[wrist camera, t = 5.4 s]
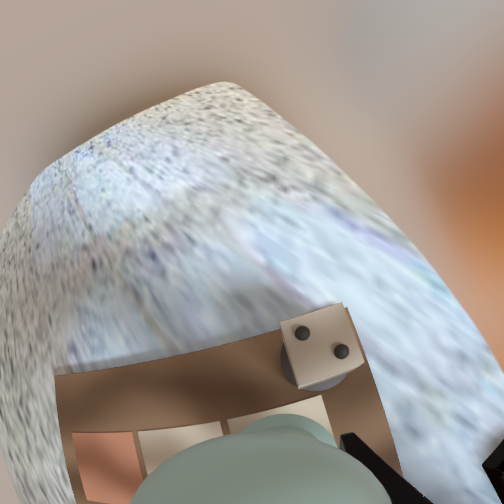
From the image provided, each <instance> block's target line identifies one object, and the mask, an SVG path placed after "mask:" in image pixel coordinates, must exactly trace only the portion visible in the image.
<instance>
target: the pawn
mask: <svg viewBox="0 0 504 504" xmlns="http://www.w3.org/2000/svg"><path fill="white" fill-rule="evenodd" d="M129 504H392V502H391V500H390V497H389V495H388V494H387V492H386V490H385V488H384V487H383V485H382V484H381V483H380V482H379V480H378V479H377V478H376V477H375V476H374V474H373V473H372V472H371V471H370V470H369V469H368V468H367V467H365V466H364V465H363V464H362V463H361V462H360V461H358V460H357V459H355V458H354V457H352V456H351V455H349V454H348V453H346V452H344V451H342V450H340V449H338V447H337V445H336V442H335V441H334V439H333V437H332V436H331V434H330V433H329V432H328V431H327V430H326V429H325V428H324V427H323V426H322V425H320V424H319V423H317V422H316V421H314V420H312V419H310V418H307V417H305V416H301V415H297V414H275V415H270V416H267V417H264V418H261V419H259V420H256V421H255V422H253V423H251V424H250V425H248V426H247V427H246V428H244V429H243V430H242V431H241V432H240V433H238V434H230V435H225V436H220V437H216V438H212V439H209V440H206V441H203V442H200V443H197V444H195V445H193V446H191V447H189V448H187V449H184V450H182V451H180V452H178V453H176V454H175V455H173V456H172V457H170V458H168V459H167V460H165V461H164V462H163V463H162V464H160V465H159V466H158V467H157V468H156V469H155V470H154V471H152V472H151V473H150V474H149V475H148V476H147V477H146V478H145V480H144V481H143V482H142V483H141V484H140V486H139V488H138V489H137V491H136V493H135V494H134V496H133V498H132V499H131V501H130V503H129Z"/></svg>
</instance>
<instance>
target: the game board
mask: <svg viewBox="0 0 504 504" xmlns="http://www.w3.org/2000/svg"><path fill="white" fill-rule="evenodd" d="M280 327H281V329H279V330H275V331H272V332H268V333H265V334H261V335H258V336H254V337H251V338H247V339H243V340H240V341H236V342H232V343H228V344H224V345H220V346H216V347H212V348H208V349H204V350H200V351H196V352H191V353H187V354H182V355H178V356H173V357H169V358H164V359H159V360H154V361H149V362H144V363H138V364H133V365H127V366H121V367H115V368H109V369H103V370H96V371H89V372H82V373H75V374H66V375H58V376H55V390H56V402H57V411H58V419H59V427H60V433H61V440H62V445H63V451H64V456H65V461H66V465H67V470H68V474H69V478H70V482H71V486H72V490H73V493H74V497H75V500H76V503H77V504H129V503H130V501H131V499H132V498H133V496H134V494H135V493H136V491H137V489H138V488H139V486H140V484H141V483H142V482H143V481H144V480H145V478H146V477H147V476H148V475H149V474H150V473H151V472H152V471H154V470H155V469H156V468H157V467H158V466H159V465H160V464H162V463H163V462H164V461H165V460H167V459H168V458H170V457H172V456H173V455H175V454H176V453H178V452H180V451H182V450H184V449H187V448H189V447H191V446H193V445H195V444H197V443H200V442H203V441H206V440H209V439H212V438H216V437H220V436H225V435H230V434H238V433H240V432H241V431H242V430H243V429H244V428H246V427H247V426H248V425H250V424H251V423H253V422H255V421H256V420H259V419H261V418H264V417H267V416H270V415H275V414H297V415H301V416H305V417H307V418H310V419H312V420H314V421H316V422H317V423H319V424H320V425H322V426H323V427H324V428H325V429H326V430H327V431H328V432H329V433H330V434H331V436H332V437H333V439H334V441H335V442H336V445H337V447H338V449H339V447H340V435H341V434H345V433H349V432H354V433H355V434H356V435H357V436H359V437H360V438H361V439H362V440H363V441H364V442H365V443H366V444H367V445H368V446H369V447H370V448H371V449H372V450H373V451H374V452H375V453H376V454H378V455H379V456H380V457H381V458H382V459H383V460H384V461H385V462H386V463H387V464H388V465H390V466H391V467H392V468H393V469H394V470H395V471H396V472H397V473H398V474H400V475H401V476H402V477H403V474H402V470H401V466H400V463H399V459H398V455H397V452H396V448H395V445H394V441H393V438H392V434H391V431H390V428H389V424H388V421H387V418H386V415H385V412H384V409H383V405H382V402H381V399H380V396H379V393H378V390H377V387H376V384H375V381H374V378H373V376H372V373H371V370H370V367H369V364H368V361H367V359H366V356H365V353H364V350H363V348H362V345H361V342H360V340H359V337H358V334H357V332H356V329H355V326H354V324H353V321H352V319H351V316H350V314H349V311H348V309H347V307H346V308H344V306H343V304H342V302H341V303H338V304H335V305H332V306H329V307H326V308H323V309H320V310H317V311H314V312H311V313H308V314H305V315H302V316H298V317H295V318H292V319H289V320H285V321H282V322H280Z"/></svg>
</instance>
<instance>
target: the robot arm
mask: <svg viewBox="0 0 504 504" xmlns="http://www.w3.org/2000/svg"><path fill="white" fill-rule="evenodd" d="M339 449H340V450H342V451H344V452H346V453H348V454H349V455H351V456H352V457H354V458H355V459H357V460H358V461H360V462H361V463H362V464H363V465H364V466H365V467H367V468H368V469H369V470H370V471H371V472H372V473H373V474H374V476H375V477H376V478H377V479H378V480H379V482H380V483H381V484H382V485H383V487H384V488H385V490H386V492H387V494H388V495H389V497H390V500H391V502H392V504H433V503H432V502H431V501H430V500H429V499H427V498H426V497H425V496H424V497H423V494H421V493H420V492H419V491H418V490H417V489H416V488H414V487H413V486H412V485H411V484H410V483H409V482H407V481H406V480H405V479H404V478H403V477H402V476H401V475H400V474H398V473H397V472H396V471H395V470H394V469H393V468H392V467H391V466H390V465H388V464H387V463H386V462H385V461H384V460H383V459H382V458H381V457H380V456H379V455H378V454H376V453H375V452H374V451H373V450H372V449H371V448H370V447H369V446H368V445H367V444H366V443H365V442H364V441H363V440H362V439H361V438H360V437H359V436H357V435H356V434H355V433H354V432H349V433H345V434H341V435H340V447H339Z"/></svg>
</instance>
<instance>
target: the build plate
mask: <svg viewBox="0 0 504 504" xmlns="http://www.w3.org/2000/svg"><path fill="white" fill-rule="evenodd" d="M482 467H483V469H484V470H485V472H486V474H487V476H488V478H489V479H490V481H491V483H492V485H493V487H494V489H495V491H496V493H497V494H498V496H499V498H500V500H501V502H502V504H504V440H503V441H502V442H501V443H500V444H499V446H498V447H497V448H496V449H495V450H494V451H493V453H492V454H491V455H490V456H489V457H488V458H487V459H486V460H485V461H484V463H483V464H482Z"/></svg>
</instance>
